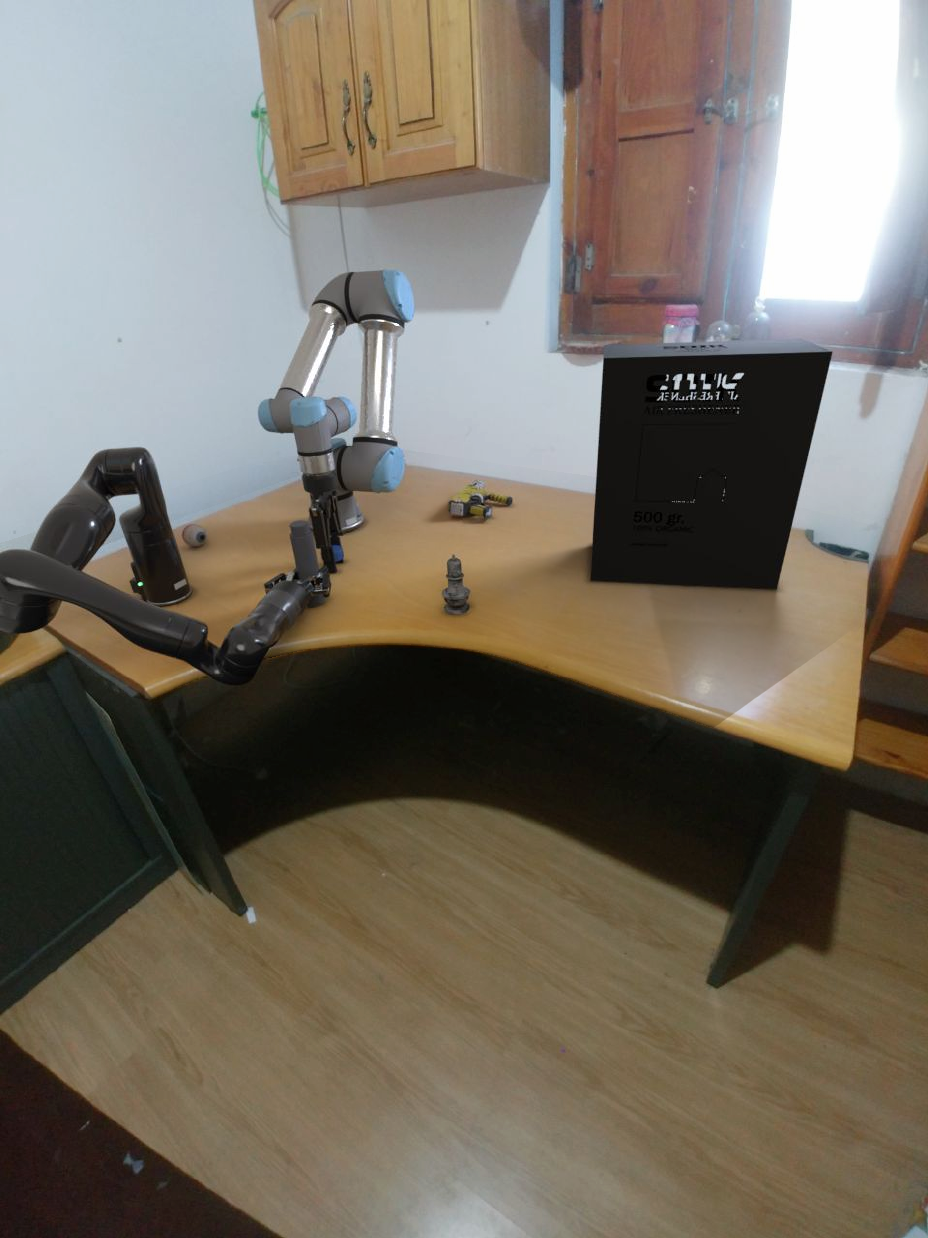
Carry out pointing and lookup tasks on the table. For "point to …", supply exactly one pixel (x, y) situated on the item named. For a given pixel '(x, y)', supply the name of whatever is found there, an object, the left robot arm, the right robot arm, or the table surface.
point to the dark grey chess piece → (455, 588)
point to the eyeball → (194, 535)
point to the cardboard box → (703, 460)
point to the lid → (337, 553)
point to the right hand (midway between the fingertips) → (334, 566)
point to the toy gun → (475, 501)
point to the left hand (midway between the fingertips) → (314, 569)
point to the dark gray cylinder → (305, 554)
